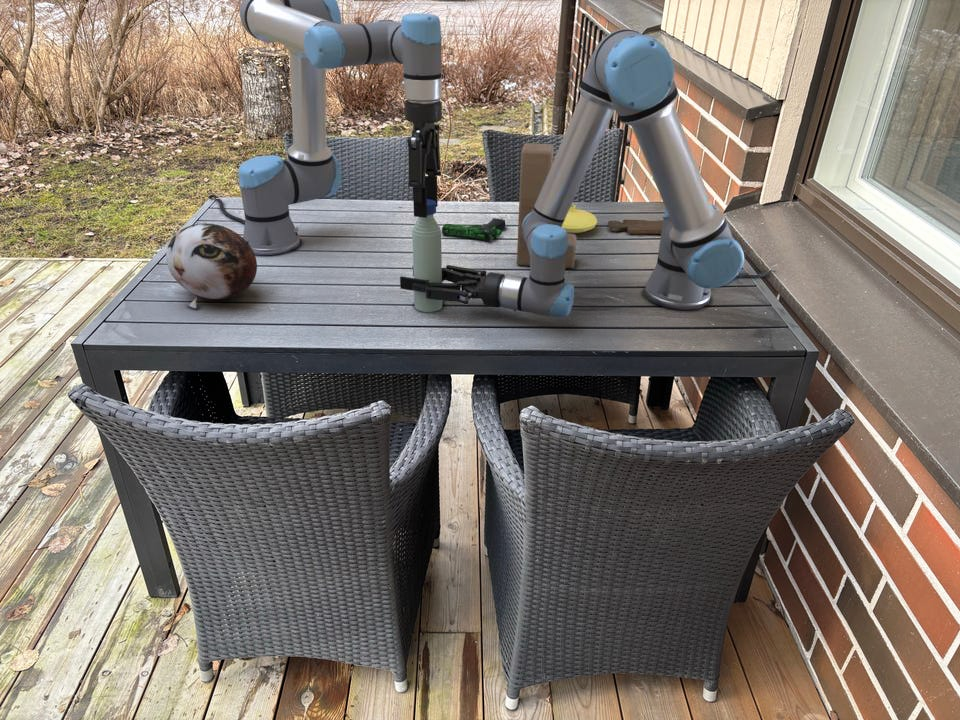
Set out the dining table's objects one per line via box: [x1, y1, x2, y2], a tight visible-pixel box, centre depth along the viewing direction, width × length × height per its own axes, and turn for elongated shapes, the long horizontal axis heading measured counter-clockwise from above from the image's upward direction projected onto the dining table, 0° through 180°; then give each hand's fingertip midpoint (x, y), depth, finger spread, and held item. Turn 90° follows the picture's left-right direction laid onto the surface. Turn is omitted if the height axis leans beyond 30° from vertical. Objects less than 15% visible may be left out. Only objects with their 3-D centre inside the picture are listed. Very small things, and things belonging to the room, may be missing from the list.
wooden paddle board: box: [607, 219, 663, 235], centre depth 211 cm, size 26×2×10 cm
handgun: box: [441, 217, 506, 242], centre depth 207 cm, size 16×3×15 cm
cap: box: [427, 199, 437, 216], centre depth 154 cm, size 4×4×2 cm
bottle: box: [411, 214, 443, 313], centre depth 160 cm, size 6×6×24 cm
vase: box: [561, 203, 598, 234], centre depth 209 cm, size 16×16×7 cm
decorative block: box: [516, 142, 577, 269], centre depth 181 cm, size 8×15×30 cm, turn 82°
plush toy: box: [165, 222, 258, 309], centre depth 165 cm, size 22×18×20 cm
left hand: (426, 210), depth 155 cm, fingers open, 6 cm apart
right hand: (407, 276), depth 164 cm, fingers closed on bottle, 6 cm apart
